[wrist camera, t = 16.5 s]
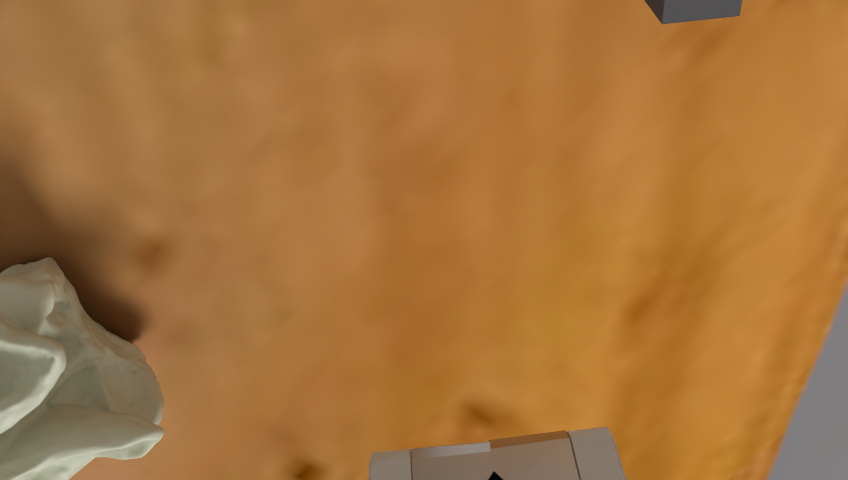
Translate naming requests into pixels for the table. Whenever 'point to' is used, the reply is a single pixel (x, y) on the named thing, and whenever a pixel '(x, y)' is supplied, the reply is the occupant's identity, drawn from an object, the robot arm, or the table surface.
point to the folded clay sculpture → (66, 381)
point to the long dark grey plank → (693, 9)
